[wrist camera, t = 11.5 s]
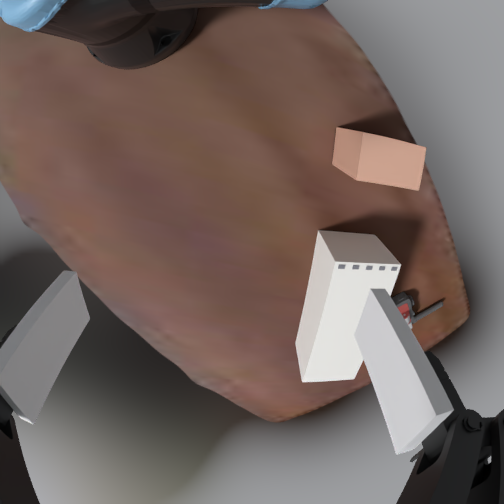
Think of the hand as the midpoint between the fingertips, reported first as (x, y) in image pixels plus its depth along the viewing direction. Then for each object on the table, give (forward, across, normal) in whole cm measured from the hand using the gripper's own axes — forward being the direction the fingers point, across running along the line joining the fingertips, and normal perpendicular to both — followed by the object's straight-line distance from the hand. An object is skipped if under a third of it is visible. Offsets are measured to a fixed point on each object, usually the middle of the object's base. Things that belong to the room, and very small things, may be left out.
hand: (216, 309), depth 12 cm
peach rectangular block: (+27, +16, +5) cm, 32 cm away
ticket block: (+27, +16, -18) cm, 36 cm away
